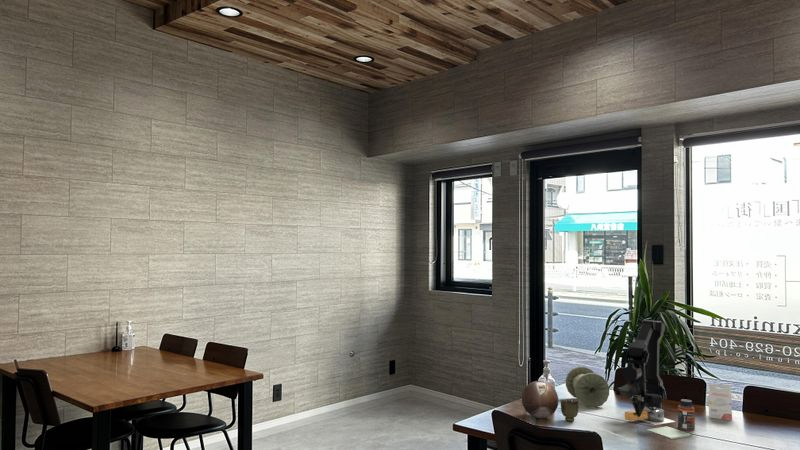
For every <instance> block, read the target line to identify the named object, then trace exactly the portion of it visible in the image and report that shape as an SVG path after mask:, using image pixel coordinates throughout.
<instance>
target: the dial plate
mask: <svg viewBox="0 0 800 450" xmlns="http://www.w3.org/2000/svg"><path fill="white" fill-rule="evenodd" d="M639 421H642V422H644V423H647V424H651V425H654V426H658V425H663V424H670V423H675V422H677V421H675V420H673V419H669V418H667V417H664V421H663V422H651V421H647V420H644V419H640V420H639Z"/></svg>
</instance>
